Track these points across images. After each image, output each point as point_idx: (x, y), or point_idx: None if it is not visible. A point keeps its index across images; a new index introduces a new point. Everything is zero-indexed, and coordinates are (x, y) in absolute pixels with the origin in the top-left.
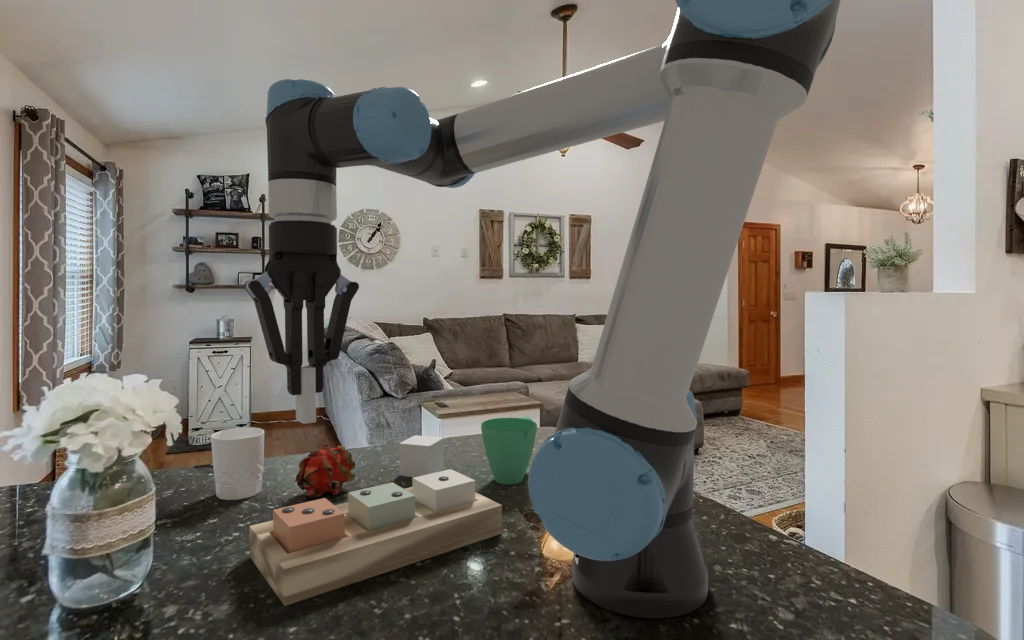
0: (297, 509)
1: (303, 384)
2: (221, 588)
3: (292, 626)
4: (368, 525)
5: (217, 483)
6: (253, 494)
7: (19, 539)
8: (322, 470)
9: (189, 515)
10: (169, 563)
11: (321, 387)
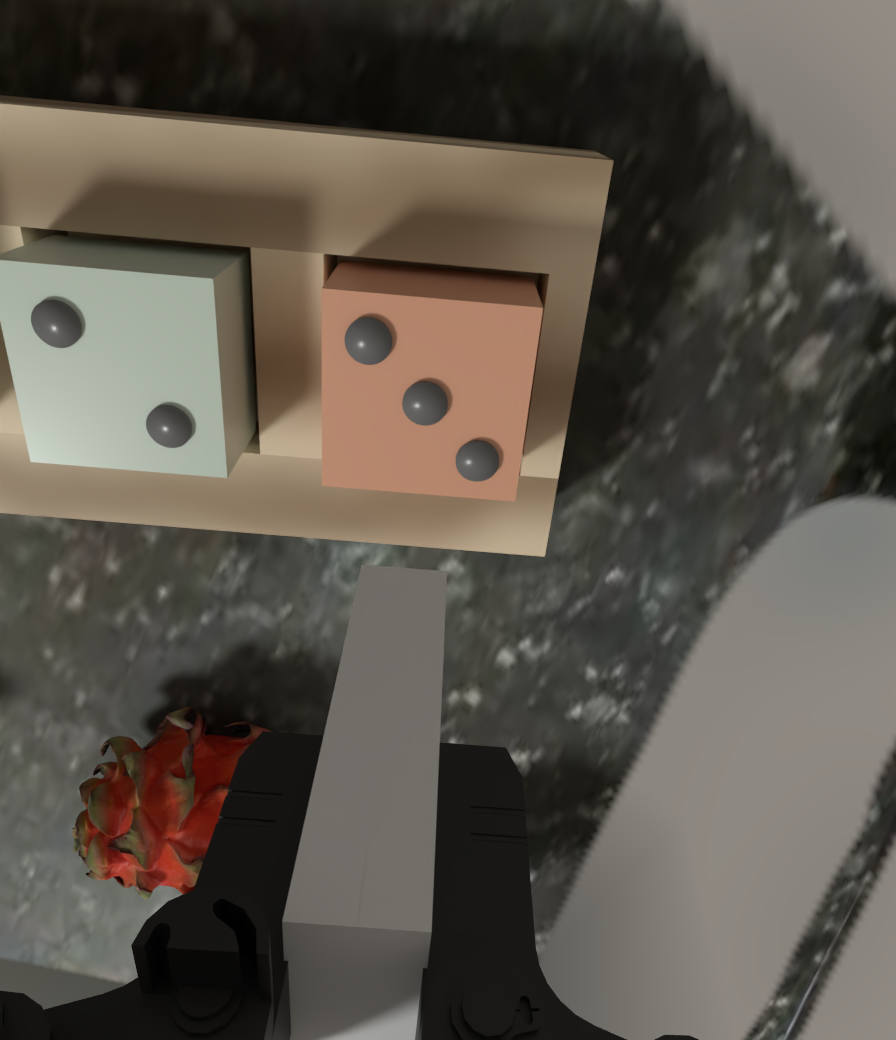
0: (447, 448)
1: (430, 784)
2: (668, 386)
3: (632, 6)
4: (235, 267)
5: None
6: None
7: (856, 890)
8: (201, 783)
9: (550, 813)
10: (696, 603)
11: (253, 763)
